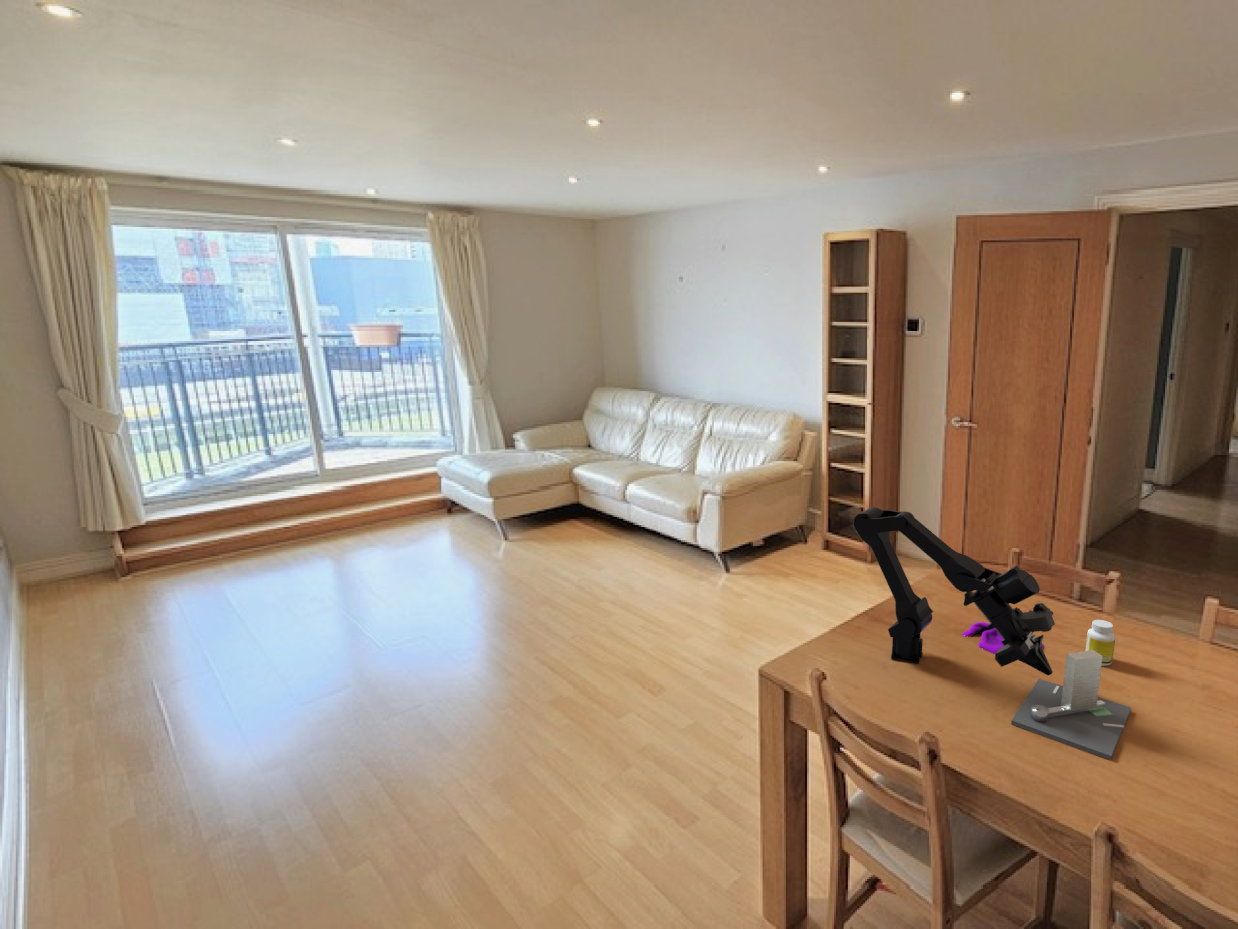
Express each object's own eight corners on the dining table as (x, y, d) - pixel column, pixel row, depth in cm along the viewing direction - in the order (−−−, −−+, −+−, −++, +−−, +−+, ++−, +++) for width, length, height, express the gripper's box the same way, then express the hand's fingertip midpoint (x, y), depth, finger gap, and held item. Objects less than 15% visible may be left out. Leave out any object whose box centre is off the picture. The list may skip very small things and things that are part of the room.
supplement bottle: (1116, 667, 154) (1121, 629, 151) (1090, 666, 155) (1095, 628, 152) (1105, 655, 159) (1109, 618, 156) (1080, 654, 160) (1084, 617, 157)
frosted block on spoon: (1037, 723, 134) (1043, 665, 131) (1027, 714, 137) (1032, 657, 134) (1108, 711, 136) (1116, 654, 133) (1096, 703, 139) (1103, 647, 136)
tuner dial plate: (1112, 761, 124) (1112, 755, 124) (1011, 724, 137) (1011, 719, 136) (1131, 711, 138) (1132, 706, 137) (1038, 682, 150) (1038, 677, 150)
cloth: (1020, 619, 179) (1021, 599, 177) (1061, 655, 161) (1063, 632, 159) (936, 623, 180) (937, 603, 179) (968, 659, 162) (970, 636, 161)
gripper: (1017, 612, 134) (1074, 679, 129) (1042, 582, 147) (1095, 642, 142) (972, 634, 142) (1025, 698, 137) (1000, 603, 154) (1049, 661, 149)
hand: (1050, 674), depth 141 cm, fingers closed
